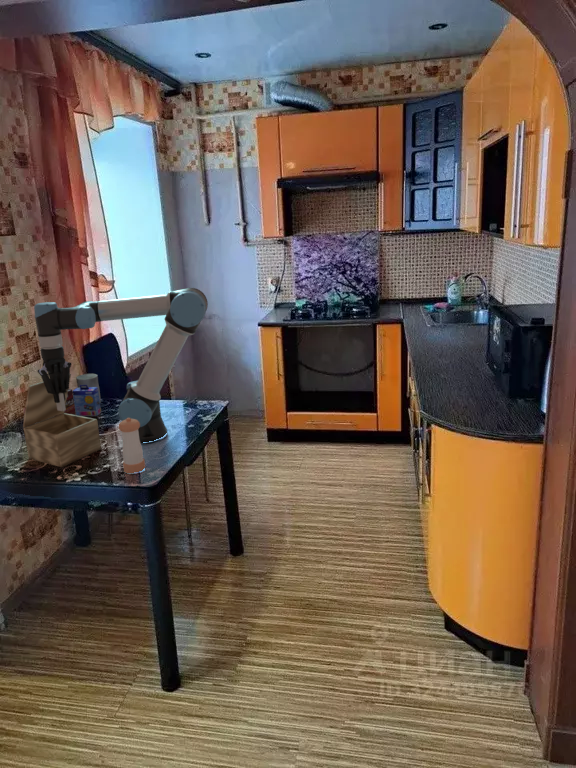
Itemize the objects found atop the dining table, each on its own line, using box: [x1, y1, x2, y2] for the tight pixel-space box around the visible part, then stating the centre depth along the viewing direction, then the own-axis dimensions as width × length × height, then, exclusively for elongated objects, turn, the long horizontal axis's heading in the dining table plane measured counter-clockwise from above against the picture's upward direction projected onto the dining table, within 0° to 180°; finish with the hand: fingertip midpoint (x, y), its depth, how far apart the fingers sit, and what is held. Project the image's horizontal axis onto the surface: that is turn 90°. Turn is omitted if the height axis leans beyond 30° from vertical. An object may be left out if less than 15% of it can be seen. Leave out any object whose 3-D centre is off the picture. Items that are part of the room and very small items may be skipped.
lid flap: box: [22, 373, 72, 428], centre depth 204 cm, size 18×18×1 cm
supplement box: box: [56, 388, 76, 416], centre depth 233 cm, size 9×5×16 cm, turn 168°
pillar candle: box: [75, 373, 102, 404], centre depth 264 cm, size 10×10×15 cm
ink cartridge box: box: [72, 385, 102, 417], centre depth 249 cm, size 10×6×14 cm, turn 88°
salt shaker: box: [118, 418, 146, 473], centre depth 188 cm, size 7×7×19 cm
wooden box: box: [22, 413, 102, 468], centre depth 206 cm, size 18×18×12 cm
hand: (61, 410), depth 202 cm, fingers closed
